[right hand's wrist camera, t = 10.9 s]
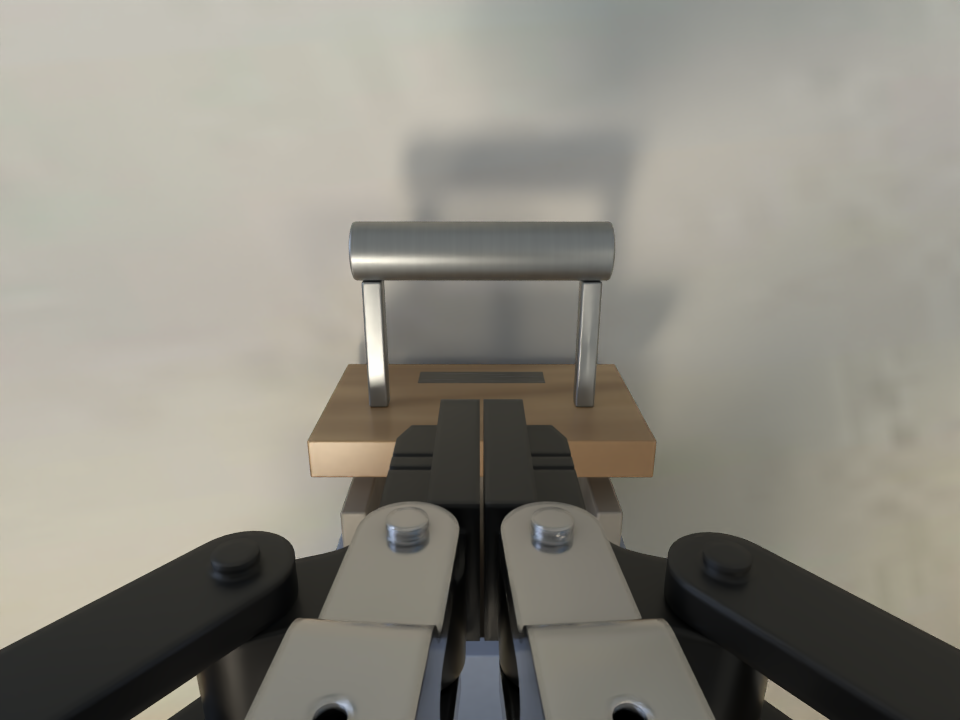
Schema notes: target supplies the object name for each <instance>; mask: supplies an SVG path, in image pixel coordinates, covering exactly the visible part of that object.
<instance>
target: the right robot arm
mask: <svg viewBox="0 0 960 720" xmlns="http://www.w3.org/2000/svg"><path fill="white" fill-rule="evenodd" d="M483 530H484V641H499V695H500V703H501V711H502V719H503V720H792V719H791V718H789V717H788V716H787V715H785V714H784V713H782V712H781V711H779V710H778V709H777V708H775V707H774V706H772V705H771V704H769V703H768V702H767V701H765V700H764V696H765V691H766V686H767V681H768V679H770V680H771V681H773V682H774V683H776V684H777V685H779V686H780V687H782V688H783V689H785V690H786V691H788V692H789V693H791V694H792V695H794V696H795V697H797V698H798V699H800V700H801V701H803V702H804V703H806V704H807V705H809V706H810V707H812V708H813V709H815V710H816V711H818V712H819V713H821V714H822V715H824V716H825V717H827V718H828V719H830V720H960V650H959V649H957V648H955V647H953V646H951V645H949V644H947V643H946V642H944V641H942V640H940V639H938V638H936V637H934V636H932V635H930V634H928V633H926V632H924V631H922V630H920V629H919V628H917V627H915V626H913V625H911V624H909V623H907V622H905V621H903V620H901V619H899V618H897V617H895V616H893V615H892V614H890V613H888V612H886V611H884V610H882V609H880V608H878V607H876V606H874V605H872V604H870V603H868V602H866V601H865V600H863V599H861V598H859V597H857V596H855V595H853V594H851V593H849V592H847V591H845V590H843V589H841V588H839V587H838V586H836V585H834V584H832V583H830V582H828V581H826V580H824V579H822V578H820V577H818V576H816V575H814V574H812V573H811V572H809V571H807V570H805V569H803V568H801V567H799V566H797V565H795V564H793V563H791V562H789V561H787V560H785V559H783V558H782V557H780V556H778V555H776V554H774V553H772V552H770V551H768V550H766V549H764V548H762V547H760V546H758V545H756V544H754V543H752V542H750V541H748V540H745V539H742V538H739V537H736V536H732V535H728V534H722V533H712V532H703V533H694V534H690V535H687V536H684V537H682V538H680V539H678V540H677V541H675V542H674V543H673V544H672V546H671V547H670V549H669V552H668V559H666V558H661V557H656V556H651V555H646V554H642V553H638V552H634V551H630V550H627V549H624V548H622V547H620V546H617V545H615V544H613V543H611V542H610V541H609V540H608V538H607V535H606V533H605V531H604V528H603V526H602V525H601V523H600V522H599V520H598V519H597V518H596V517H595V516H593V515H592V514H591V513H589V512H587V511H586V507H585V504H584V500H583V496H582V492H581V489H580V485H579V481H578V478H577V474H576V470H575V469H574V463H573V459H572V457H571V452H570V448H569V444H568V441H567V438H566V437H565V436H564V435H563V434H562V433H560V432H559V431H558V430H557V429H556V428H555V427H554V426H552V425H526V418H525V411H524V405H523V399H483ZM466 641H480V399H441V401H440V408H439V416H438V423H437V425H411V426H410V427H409V428H408V429H407V430H406V431H404V432H403V433H402V434H401V435H400V436H399V437H398V438H397V439H396V443H395V447H394V451H393V457H392V458H391V462H390V466H389V470H388V474H387V478H386V482H385V486H384V489H383V493H382V497H381V501H380V505H379V508H378V509H376V510H374V511H373V512H371V513H369V514H368V515H367V516H365V517H364V518H363V519H362V520H361V522H360V523H359V525H358V526H357V528H356V531H355V533H354V535H353V538H352V540H351V542H350V545H348V546H346V547H344V548H341V549H338V550H335V551H332V552H328V553H324V554H320V555H315V556H310V557H305V558H300V559H296V560H295V553H294V549H293V546H292V545H291V544H290V542H289V541H288V540H286V539H285V538H284V537H281V536H279V535H277V534H274V533H270V532H264V531H245V532H238V533H233V534H229V535H225V536H222V537H219V538H217V539H214V540H212V541H210V542H208V543H205V544H204V545H202V546H200V547H198V548H196V549H194V550H192V551H190V552H188V553H186V554H184V555H182V556H180V557H178V558H177V559H175V560H173V561H171V562H169V563H167V564H165V565H163V566H161V567H159V568H157V569H155V570H153V571H151V572H150V573H148V574H146V575H144V576H142V577H140V578H138V579H136V580H134V581H132V582H130V583H128V584H126V585H124V586H123V587H121V588H119V589H117V590H115V591H113V592H111V593H109V594H107V595H105V596H103V597H101V598H99V599H97V600H96V601H94V602H92V603H90V604H88V605H86V606H84V607H82V608H80V609H78V610H76V611H74V612H72V613H70V614H69V615H67V616H65V617H63V618H61V619H59V620H57V621H55V622H53V623H51V624H49V625H47V626H45V627H43V628H41V629H40V630H38V631H36V632H34V633H32V634H30V635H28V636H26V637H24V638H22V639H20V640H18V641H16V642H14V643H13V644H11V645H9V646H7V647H5V648H3V649H1V650H0V720H130V719H132V718H133V717H135V716H136V715H138V714H139V713H141V712H142V711H144V710H145V709H147V708H148V707H150V706H151V705H153V704H154V703H156V702H157V701H159V700H160V699H162V698H163V697H165V696H166V695H168V694H169V693H171V692H172V691H174V690H175V689H177V688H178V687H180V686H181V685H183V684H184V683H186V682H187V681H189V680H190V679H192V678H193V677H195V676H196V675H197V680H198V685H199V690H200V695H201V697H199V698H198V699H196V700H195V701H193V702H192V703H191V704H189V705H188V706H186V707H185V708H183V709H182V710H181V711H179V712H178V713H176V714H175V715H173V716H172V717H171V718H169V719H168V720H457V719H458V711H459V703H460V695H461V672H462V670H463V667H464V665H465V658H466Z"/></svg>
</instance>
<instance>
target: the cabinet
mask: <svg viewBox="0 0 960 720" xmlns="http://www.w3.org/2000/svg"><path fill="white" fill-rule="evenodd" d="M620 547H622V548H624V549H626V548H625V545H624V542H623V539H622V536H621V541H620ZM341 548H343V537H342V534H341V537H340V540H339V543H338V546H337V549H336V550H338V549H341ZM457 720H503V719H502V711H501V703H500V695H499V641H484V637H480V641H466V658H465V665H464V667H463V670H462V672H461V695H460V703H459V711H458V719H457Z"/></svg>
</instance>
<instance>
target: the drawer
mask: <svg viewBox="0 0 960 720" xmlns="http://www.w3.org/2000/svg"><path fill="white" fill-rule="evenodd" d="M349 260H350V267H351V272H352V275H353V278H354V279H355V280H363V282H362V297H363V313H364V329H365V345H366V361H367V364H349V365H348V366H347V368H346V370H345V372H344V373H343V375H342V377H341V379H340V381H339V383H338V385H337V387H336V388H335V390H334V392H333V394H332V396H331V398H330V400H329V402H328V403H327V405H326V407H325V409H324V411H323V413H322V415H321V417H320V418H319V420H318V422H317V424H316V426H315V428H314V430H313V432H312V433H311V435H310V437H309V439H308V441H307V443H308V453H309V463H310V473H311V477H353V479H352V482H351V485H350V488H349V491H348V494H347V496H346V499H345V502H344V505H343V508H342V511H341V526H342V537H343V548H344V547H346V546H348V545H350V542H351V540H352V538H353V535H354V533H355V531H356V528H357V526H358V525H359V523H360V522H361V520H362V519H363V518H364V517H365V516H367V515H368V514H369V513H371V512H373V511H374V510H376V509H378V508H379V505H380V501H381V497H382V493H383V489H384V486H385V482H386V478H387V474H388V470H389V466H390V462H391V458H392V457H393V451H394V447H395V443H396V439H397V438H398V437H399V436H400V435H401V434H402V433H403V432H404V431H406V430H407V429H408V428H409V427H410V426H411V425H437V423H438V416H439V408H440V401H441V399H480V637H484V530H483V399H523V405H524V411H525V418H526V425H552V426H554V427H555V428H556V429H557V430H558V431H559V432H560V433H562V434H563V435H564V436H565V437H566V438H567V441H568V444H569V448H570V452H571V457H572V459H573V463H574V469H575V470H576V474H577V478H578V481H579V485H580V489H581V492H582V496H583V500H584V504H585V507H586V511H587V512H589V513H591V514H592V515H593V516H595V517H596V518H597V519H598V520H599V522H600V523H601V525H602V526H603V528H604V531H605V533H606V535H607V538H608V540H609V541H610V542H611V543H613V544H615V545H617V546H620V541H621V529H622V518H623V513H622V510H621V507H620V505H619V502H618V499H617V496H616V493H615V491H614V488H613V485H612V482H611V480H610V477H652V476H653V469H654V460H655V450H656V440H655V438H654V436H653V434H652V432H651V431H650V429H649V427H648V425H647V423H646V421H645V420H644V418H643V416H642V414H641V412H640V410H639V409H638V407H637V405H636V403H635V401H634V399H633V397H632V396H631V394H630V392H629V390H628V388H627V386H626V385H625V383H624V381H623V379H622V377H621V375H620V374H619V372H618V370H617V368H616V366H615V365H614V364H597V354H598V339H599V324H600V309H601V293H602V282H601V281H607V280H609V279H610V278H611V275H612V272H613V267H614V260H615V235H614V229H613V226H612V224H611V223H610V222H353V223H352V226H351V229H350V235H349ZM384 280H499V281H580V283H579V302H578V320H577V339H576V357H575V364H388V348H387V328H386V309H385V289H384Z"/></svg>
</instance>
